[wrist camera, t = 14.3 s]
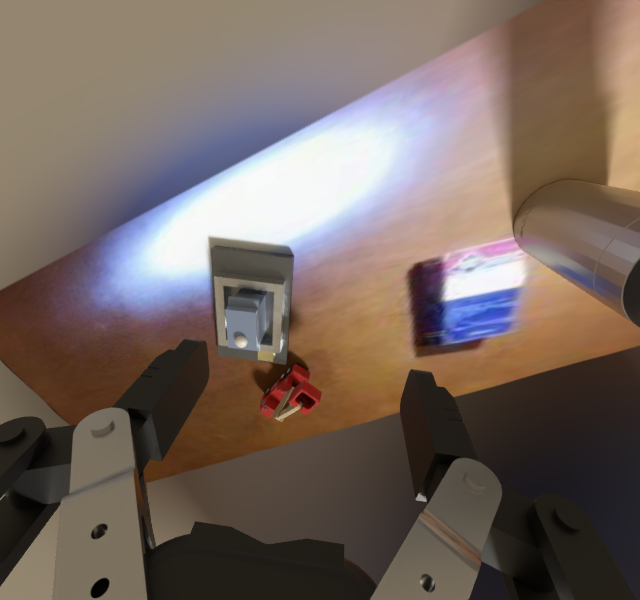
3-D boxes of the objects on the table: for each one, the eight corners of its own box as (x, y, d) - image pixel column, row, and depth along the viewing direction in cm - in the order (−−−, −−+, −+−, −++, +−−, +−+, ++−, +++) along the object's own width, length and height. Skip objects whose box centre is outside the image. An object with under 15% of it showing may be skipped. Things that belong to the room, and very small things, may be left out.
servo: (265, 288, 43) (254, 308, 38) (266, 336, 47) (256, 359, 42) (237, 285, 44) (222, 304, 39) (240, 333, 47) (227, 356, 42)
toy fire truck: (261, 393, 54) (245, 441, 46) (309, 347, 49) (301, 391, 40) (277, 403, 55) (263, 451, 47) (326, 358, 50) (320, 404, 41)
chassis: (293, 255, 42) (290, 262, 40) (287, 360, 50) (284, 371, 48) (214, 245, 42) (206, 252, 40) (221, 351, 51) (214, 361, 48)
